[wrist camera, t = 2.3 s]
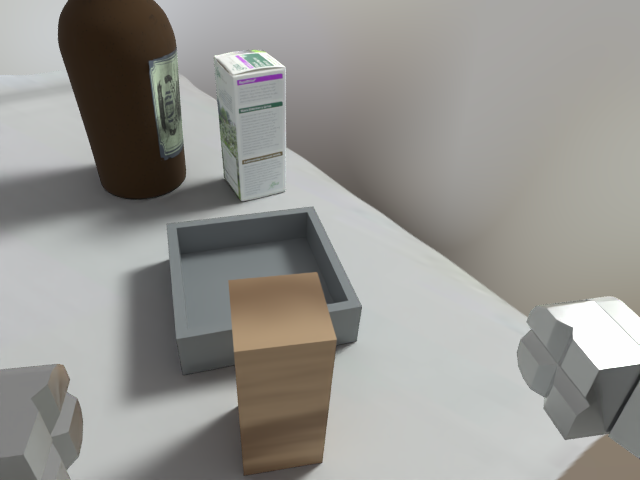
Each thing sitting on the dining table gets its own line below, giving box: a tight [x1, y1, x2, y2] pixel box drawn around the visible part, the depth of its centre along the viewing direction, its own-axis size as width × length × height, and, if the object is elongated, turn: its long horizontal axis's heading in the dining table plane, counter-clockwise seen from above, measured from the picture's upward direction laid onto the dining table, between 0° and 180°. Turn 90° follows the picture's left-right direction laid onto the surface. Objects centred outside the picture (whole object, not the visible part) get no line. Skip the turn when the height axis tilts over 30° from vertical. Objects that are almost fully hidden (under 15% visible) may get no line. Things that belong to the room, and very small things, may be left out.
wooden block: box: [228, 272, 337, 476], centre depth 29 cm, size 5×5×12 cm
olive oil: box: [58, 0, 186, 199], centre depth 49 cm, size 11×11×25 cm
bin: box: [167, 207, 362, 375], centre depth 42 cm, size 14×14×4 cm
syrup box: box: [214, 50, 286, 201], centre depth 53 cm, size 6×6×14 cm
